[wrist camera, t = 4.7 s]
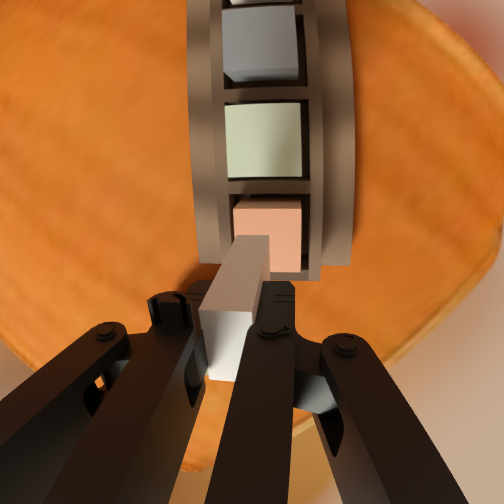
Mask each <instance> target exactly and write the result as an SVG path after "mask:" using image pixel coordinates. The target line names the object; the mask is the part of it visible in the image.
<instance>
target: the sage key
mask: <svg viewBox="0 0 504 504" xmlns="http://www.w3.org/2000/svg"><path fill="white" fill-rule="evenodd" d="M225 126H226V149H227V170H228V177H275V176H300V177H302V162H301V119H300V103H268V104H245V105H230V106H225Z"/></svg>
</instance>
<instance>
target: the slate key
mask: <svg viewBox="0 0 504 504" xmlns="http://www.w3.org/2000/svg"><path fill="white" fill-rule="evenodd" d="M222 40H223V72H224V73H225V74H227V75H228V76H229V77H230V78H231V79H232V80H233V81H234V82H248V81H269V80H298V54H297V38H296V25H295V12H294V6H267V7H252V8H240V9H231V10H222Z"/></svg>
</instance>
